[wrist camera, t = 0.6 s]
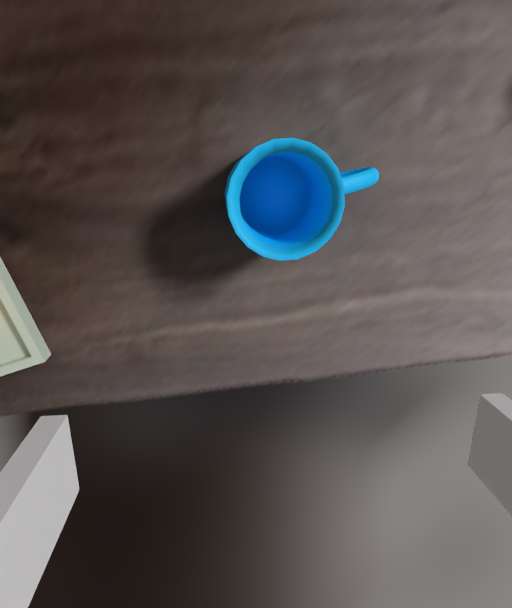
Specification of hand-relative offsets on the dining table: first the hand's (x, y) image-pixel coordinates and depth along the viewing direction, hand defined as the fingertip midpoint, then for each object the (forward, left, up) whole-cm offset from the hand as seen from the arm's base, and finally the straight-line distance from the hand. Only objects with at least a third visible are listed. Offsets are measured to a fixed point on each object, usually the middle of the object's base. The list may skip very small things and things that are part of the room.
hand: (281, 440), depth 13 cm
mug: (-5, +6, -26) cm, 27 cm away
